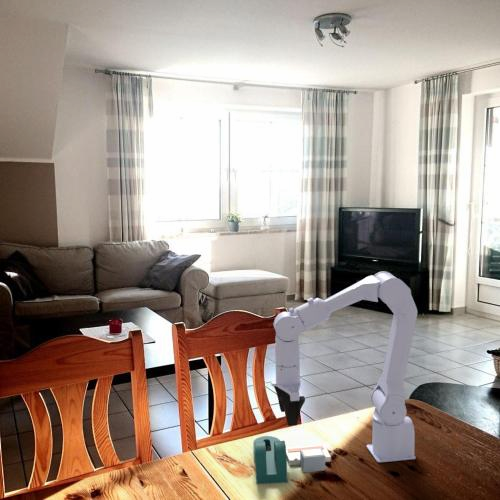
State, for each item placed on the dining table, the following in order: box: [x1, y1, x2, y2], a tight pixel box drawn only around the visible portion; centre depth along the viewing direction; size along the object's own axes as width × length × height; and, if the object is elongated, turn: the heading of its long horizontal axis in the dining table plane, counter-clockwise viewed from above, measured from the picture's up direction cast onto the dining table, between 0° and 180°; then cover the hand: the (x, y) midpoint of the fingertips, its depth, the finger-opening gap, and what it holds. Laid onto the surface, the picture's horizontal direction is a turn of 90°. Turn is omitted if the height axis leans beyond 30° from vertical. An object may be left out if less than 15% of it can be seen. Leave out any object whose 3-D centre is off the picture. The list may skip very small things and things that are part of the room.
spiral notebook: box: [286, 444, 332, 466], centre depth 131 cm, size 10×6×1 cm, turn 98°
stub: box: [299, 448, 326, 473], centre depth 126 cm, size 5×4×4 cm
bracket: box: [252, 435, 288, 485], centre depth 129 cm, size 18×7×8 cm, turn 2°
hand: (288, 417), depth 130 cm, fingers open, 7 cm apart
